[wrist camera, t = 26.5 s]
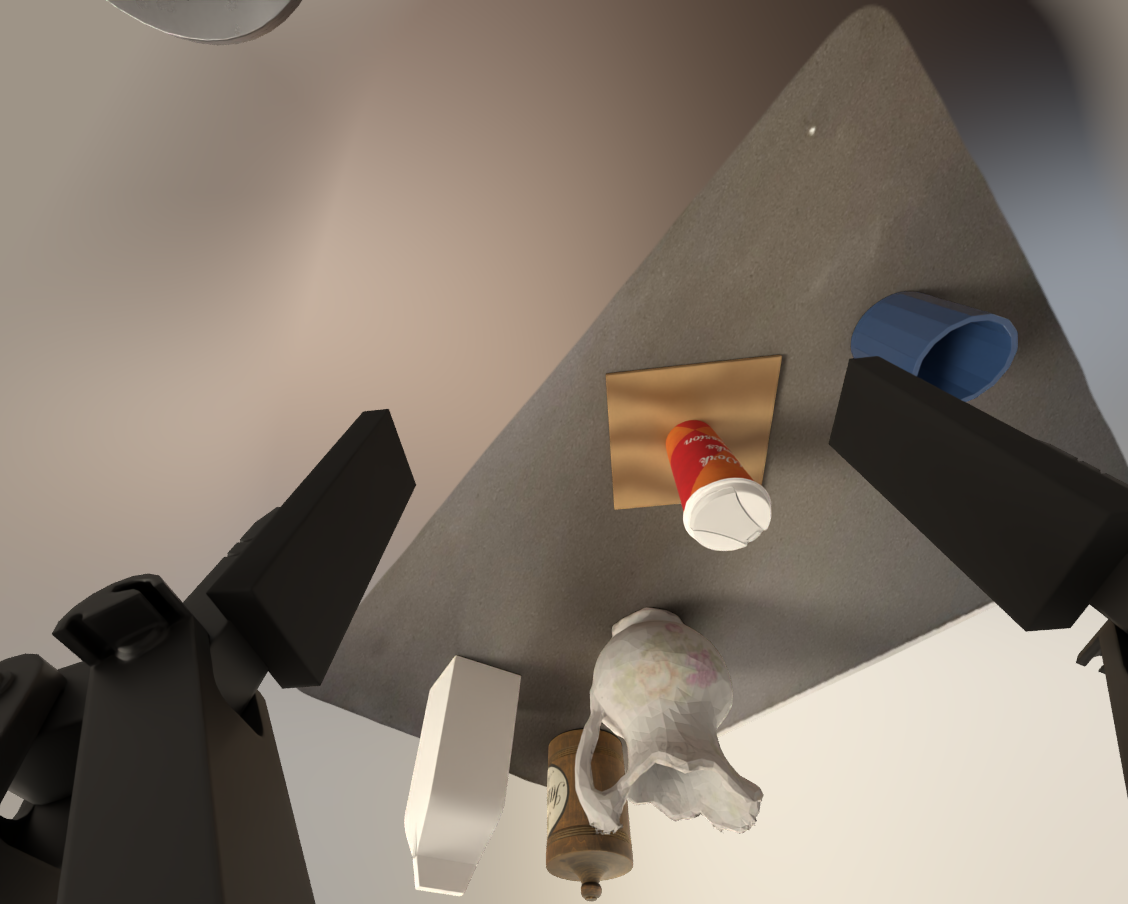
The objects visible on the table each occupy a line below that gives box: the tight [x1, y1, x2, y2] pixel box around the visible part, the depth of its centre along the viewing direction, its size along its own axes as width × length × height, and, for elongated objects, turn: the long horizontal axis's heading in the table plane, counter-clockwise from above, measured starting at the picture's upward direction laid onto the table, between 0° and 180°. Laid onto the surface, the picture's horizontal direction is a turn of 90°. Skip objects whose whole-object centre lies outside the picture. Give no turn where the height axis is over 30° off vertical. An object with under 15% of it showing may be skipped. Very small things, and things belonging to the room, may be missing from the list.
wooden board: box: [606, 355, 782, 510], centre depth 49 cm, size 18×18×1 cm
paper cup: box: [666, 420, 771, 551], centre depth 43 cm, size 8×8×14 cm
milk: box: [404, 655, 521, 896], centre depth 64 cm, size 12×12×26 cm
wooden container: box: [546, 729, 633, 901], centre depth 78 cm, size 15×15×22 cm
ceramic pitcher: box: [575, 607, 763, 835], centre depth 58 cm, size 22×20×25 cm
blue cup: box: [851, 291, 1018, 402], centre depth 40 cm, size 8×8×9 cm
